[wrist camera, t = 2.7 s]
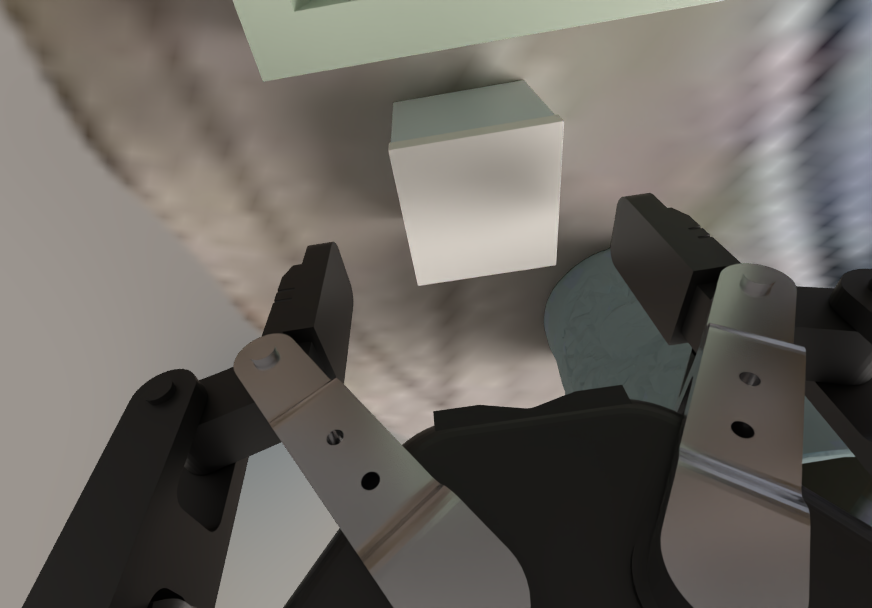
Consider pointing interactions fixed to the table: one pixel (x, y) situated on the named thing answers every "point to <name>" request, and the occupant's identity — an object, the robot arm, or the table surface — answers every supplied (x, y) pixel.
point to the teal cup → (668, 371)
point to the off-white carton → (478, 181)
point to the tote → (407, 27)
